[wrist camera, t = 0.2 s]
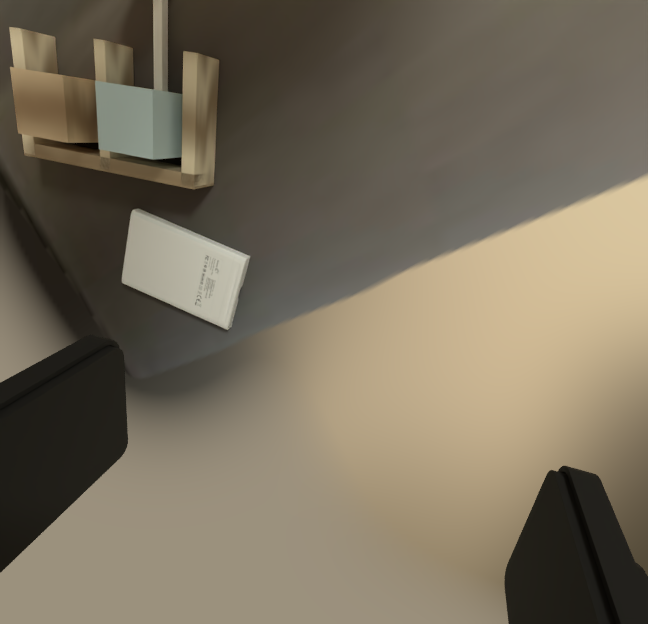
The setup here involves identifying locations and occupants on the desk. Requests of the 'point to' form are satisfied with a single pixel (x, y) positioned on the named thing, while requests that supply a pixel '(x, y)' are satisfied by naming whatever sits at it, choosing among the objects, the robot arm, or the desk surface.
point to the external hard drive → (183, 268)
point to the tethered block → (143, 107)
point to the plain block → (55, 106)
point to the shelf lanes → (118, 69)
